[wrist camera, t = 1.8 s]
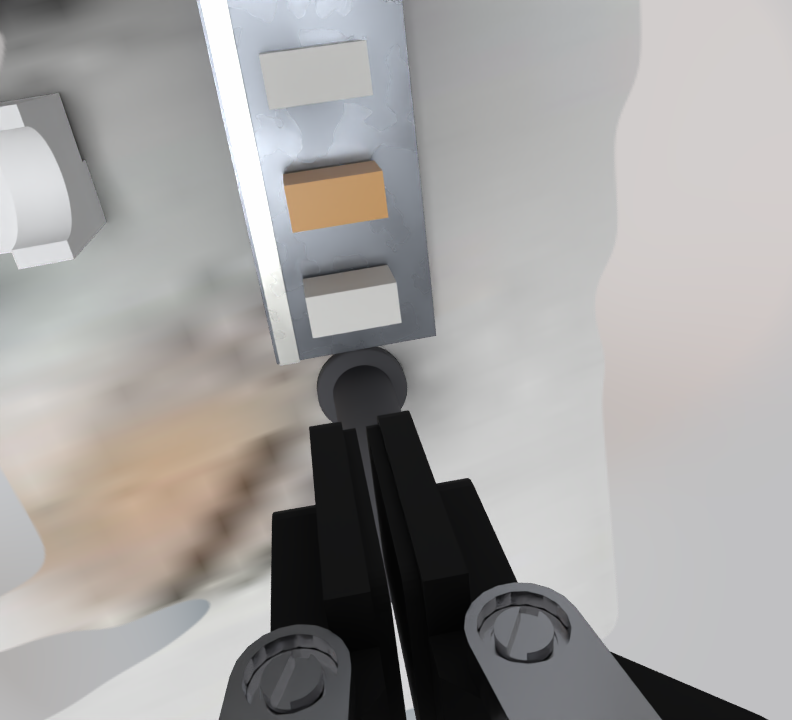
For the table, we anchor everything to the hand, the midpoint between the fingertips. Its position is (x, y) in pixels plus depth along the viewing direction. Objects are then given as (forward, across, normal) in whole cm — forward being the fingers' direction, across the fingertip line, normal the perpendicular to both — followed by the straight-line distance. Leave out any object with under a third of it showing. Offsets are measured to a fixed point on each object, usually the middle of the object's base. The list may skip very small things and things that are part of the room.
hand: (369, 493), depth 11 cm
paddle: (+28, -1, -6) cm, 29 cm away
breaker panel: (+32, -1, 0) cm, 32 cm away
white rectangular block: (+29, -2, +6) cm, 30 cm away
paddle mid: (+29, -1, 0) cm, 29 cm away
